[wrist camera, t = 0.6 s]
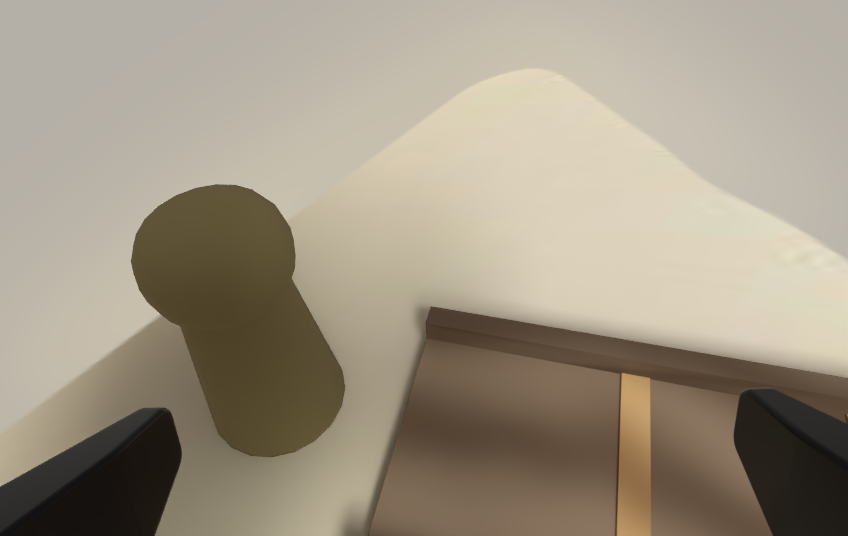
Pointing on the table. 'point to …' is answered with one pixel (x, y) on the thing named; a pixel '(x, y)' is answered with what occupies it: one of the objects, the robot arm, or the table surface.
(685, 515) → the channel board
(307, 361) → the olive pawn shaped piece
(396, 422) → the table surface
